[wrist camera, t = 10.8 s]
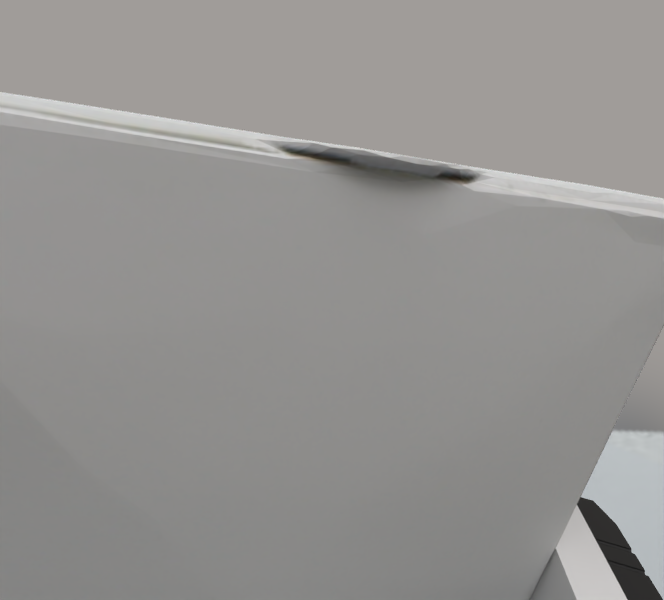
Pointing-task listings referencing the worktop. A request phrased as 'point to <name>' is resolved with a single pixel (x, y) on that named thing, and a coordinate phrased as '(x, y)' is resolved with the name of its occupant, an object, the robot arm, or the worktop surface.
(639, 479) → the worktop surface
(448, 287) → the skincare box
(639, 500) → the worktop surface
